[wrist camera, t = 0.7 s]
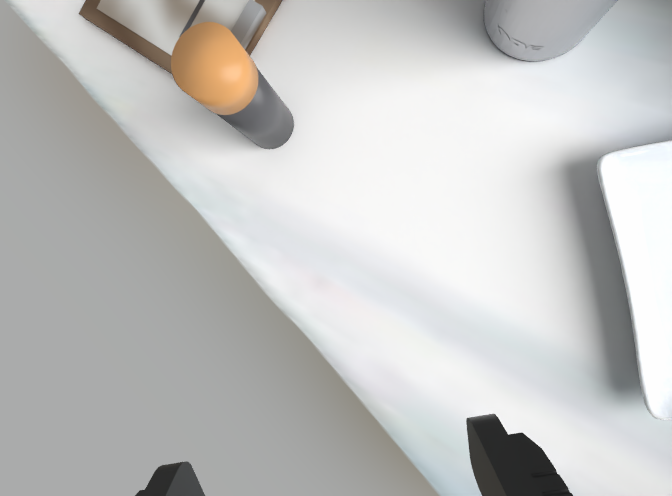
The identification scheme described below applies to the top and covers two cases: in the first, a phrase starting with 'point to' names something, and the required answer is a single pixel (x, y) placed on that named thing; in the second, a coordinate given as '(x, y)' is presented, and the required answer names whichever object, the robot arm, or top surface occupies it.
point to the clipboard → (177, 22)
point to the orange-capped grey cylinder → (230, 84)
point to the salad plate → (645, 258)
